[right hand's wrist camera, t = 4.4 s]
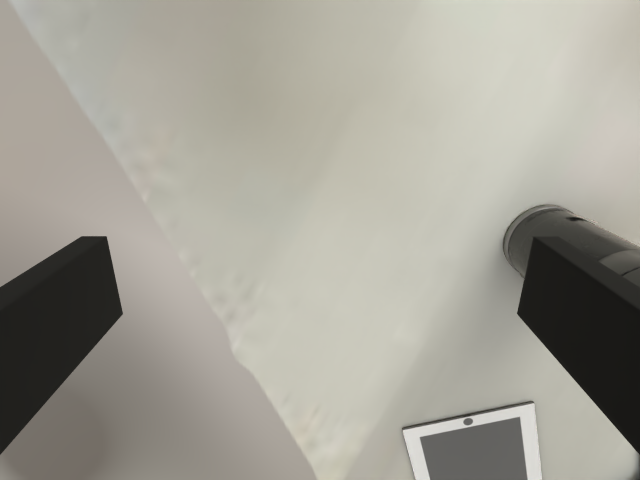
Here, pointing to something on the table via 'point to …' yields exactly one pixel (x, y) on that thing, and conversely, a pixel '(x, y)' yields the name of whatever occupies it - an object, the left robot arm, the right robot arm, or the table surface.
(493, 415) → the tablet
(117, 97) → the table surface
